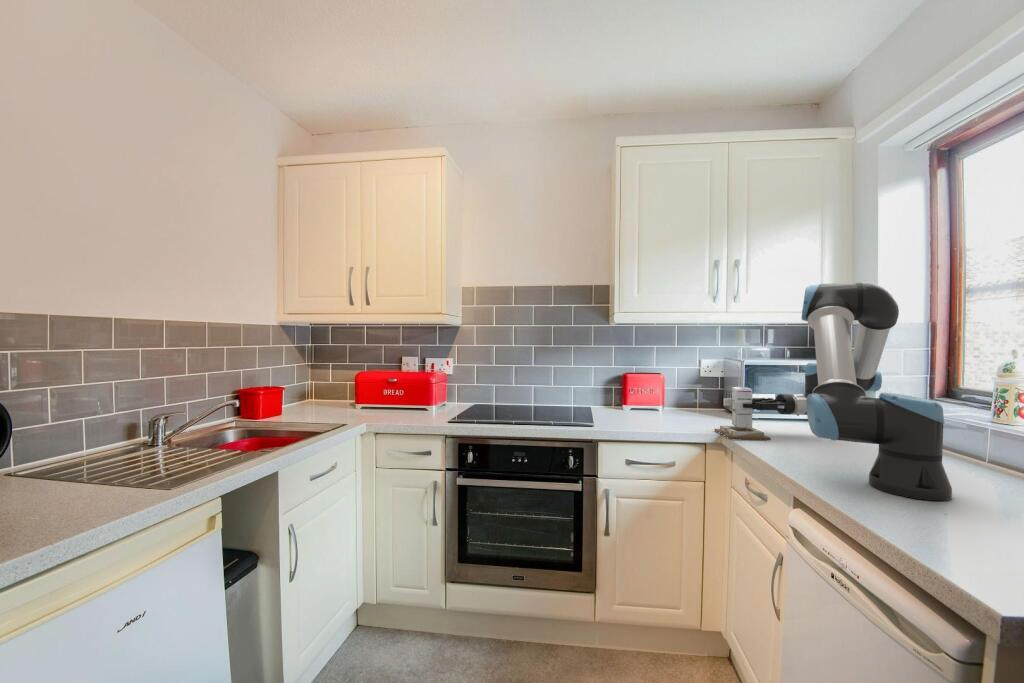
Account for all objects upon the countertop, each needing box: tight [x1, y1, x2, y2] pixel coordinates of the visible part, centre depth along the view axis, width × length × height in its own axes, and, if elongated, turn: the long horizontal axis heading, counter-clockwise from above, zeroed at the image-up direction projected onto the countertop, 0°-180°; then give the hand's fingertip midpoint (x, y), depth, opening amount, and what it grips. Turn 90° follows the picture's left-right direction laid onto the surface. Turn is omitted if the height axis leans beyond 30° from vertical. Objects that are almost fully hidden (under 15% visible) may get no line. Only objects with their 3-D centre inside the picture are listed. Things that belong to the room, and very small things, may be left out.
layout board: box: [714, 425, 772, 441], centre depth 164 cm, size 14×14×2 cm
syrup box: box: [731, 386, 753, 428], centre depth 164 cm, size 6×6×14 cm
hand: (728, 403), depth 164 cm, fingers closed on syrup box, 6 cm apart
